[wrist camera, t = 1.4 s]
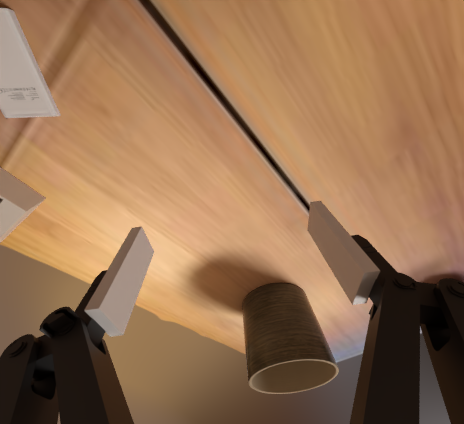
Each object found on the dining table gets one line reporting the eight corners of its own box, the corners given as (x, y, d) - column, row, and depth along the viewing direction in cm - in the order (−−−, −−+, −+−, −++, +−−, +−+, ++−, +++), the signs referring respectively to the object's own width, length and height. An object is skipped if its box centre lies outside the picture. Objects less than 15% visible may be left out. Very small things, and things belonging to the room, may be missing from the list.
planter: (229, 313, 67) (232, 389, 51) (263, 273, 57) (282, 353, 40) (282, 325, 74) (300, 396, 57) (321, 291, 64) (358, 366, 47)
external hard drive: (16, 11, 26) (63, 115, 33) (-48, 12, 26) (12, 116, 33) (5, 7, 25) (56, 116, 32) (-63, 8, 24) (3, 118, 31)
